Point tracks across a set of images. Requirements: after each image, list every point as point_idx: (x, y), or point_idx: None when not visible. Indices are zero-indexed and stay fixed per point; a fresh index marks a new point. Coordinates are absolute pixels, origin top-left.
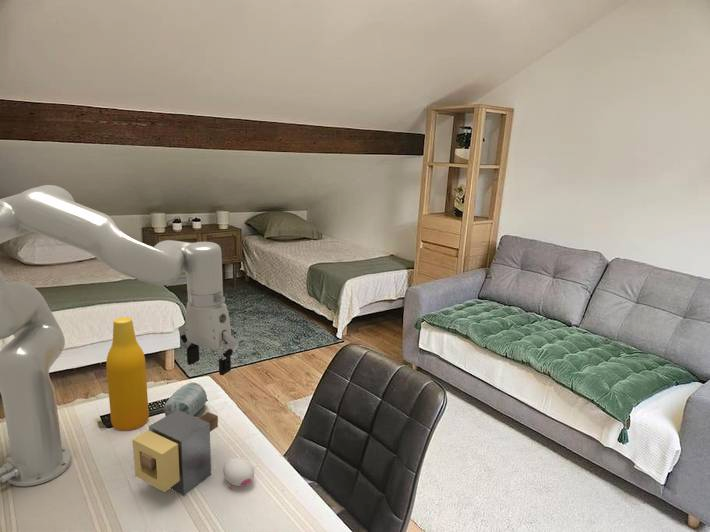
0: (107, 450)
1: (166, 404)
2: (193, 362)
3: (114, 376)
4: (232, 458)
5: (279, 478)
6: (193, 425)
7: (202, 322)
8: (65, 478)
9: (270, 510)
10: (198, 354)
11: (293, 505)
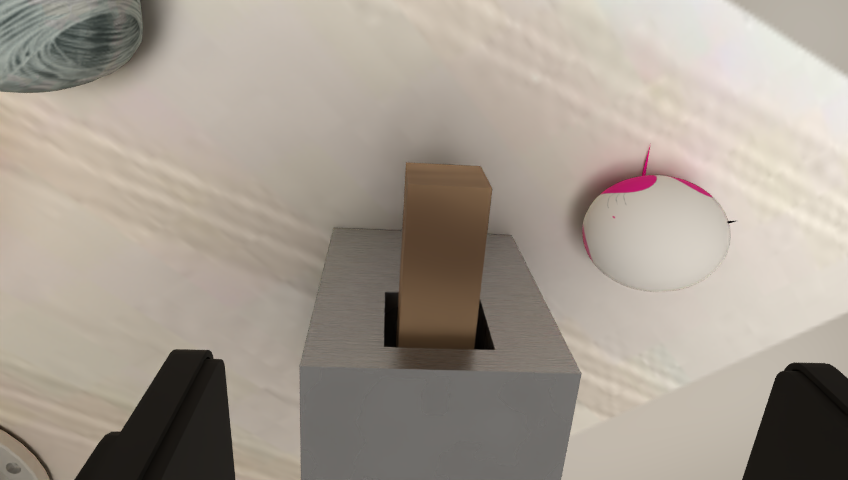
0: (33, 325)
1: None
2: (230, 461)
3: None
4: (638, 247)
5: (781, 117)
6: (510, 429)
7: None
8: None
9: (809, 270)
10: (193, 435)
11: None
